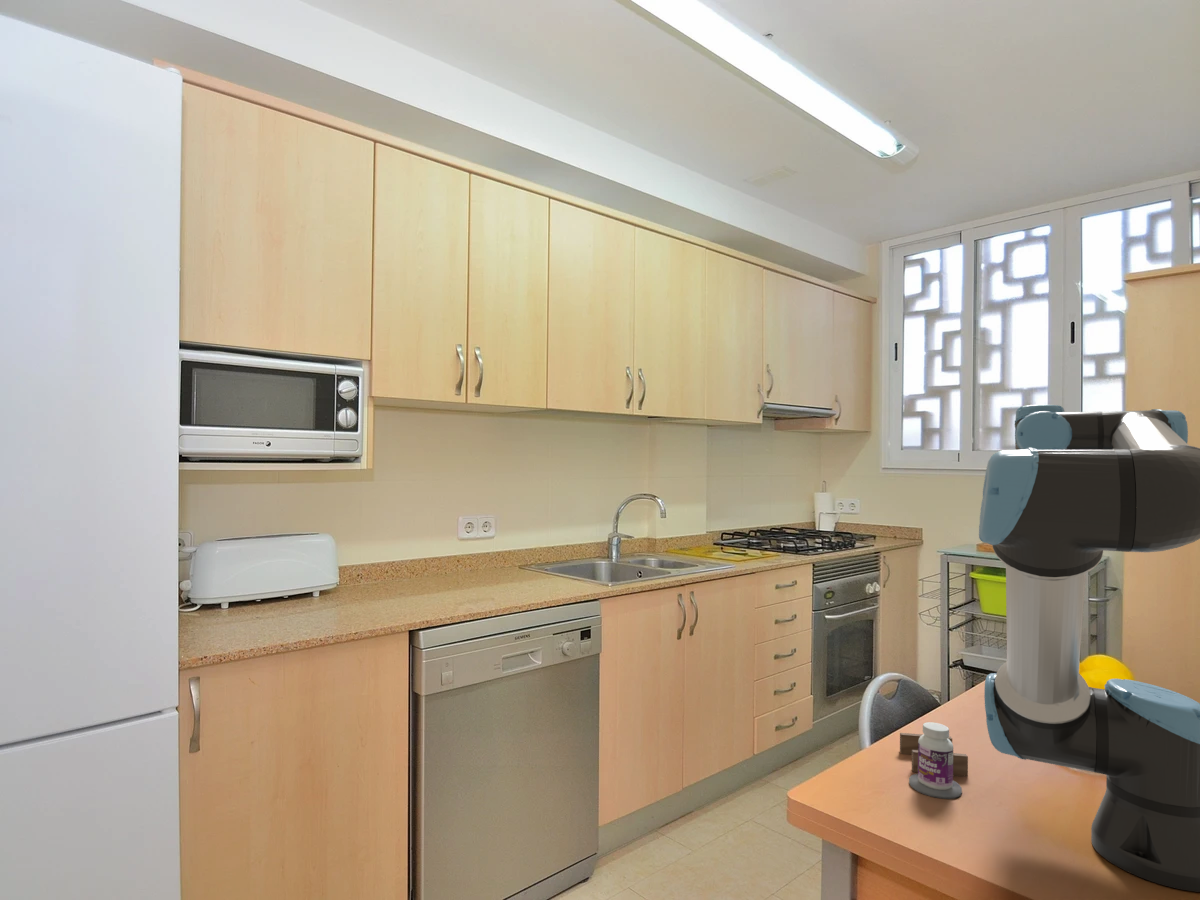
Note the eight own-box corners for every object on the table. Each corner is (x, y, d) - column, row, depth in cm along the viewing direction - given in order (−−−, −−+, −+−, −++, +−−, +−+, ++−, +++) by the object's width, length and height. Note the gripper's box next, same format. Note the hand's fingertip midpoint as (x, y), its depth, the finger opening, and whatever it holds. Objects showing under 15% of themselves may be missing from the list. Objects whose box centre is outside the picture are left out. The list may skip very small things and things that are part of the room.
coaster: (969, 800, 111) (969, 797, 111) (916, 796, 113) (916, 792, 113) (952, 778, 119) (952, 775, 119) (903, 774, 120) (903, 771, 120)
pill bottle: (914, 784, 115) (914, 726, 116) (921, 773, 120) (921, 717, 120) (950, 794, 112) (950, 734, 112) (956, 782, 116) (956, 725, 117)
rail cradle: (967, 776, 120) (967, 756, 120) (913, 771, 122) (913, 752, 122) (950, 755, 129) (950, 736, 129) (899, 751, 130) (899, 732, 131)
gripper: (1101, 495, 110) (1101, 628, 109) (1030, 490, 134) (1030, 599, 134) (1050, 494, 111) (1050, 626, 110) (989, 489, 135) (989, 597, 135)
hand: (1039, 611), depth 122 cm, fingers open, 13 cm apart
